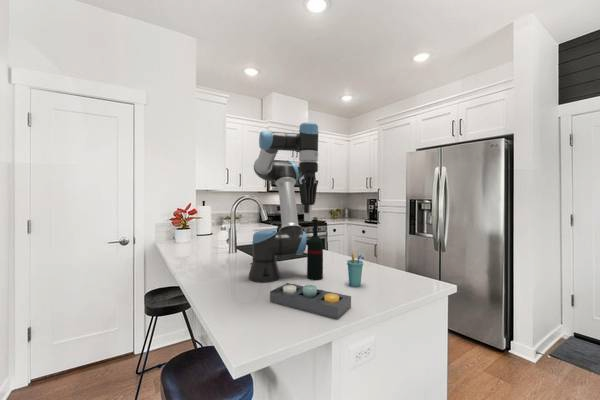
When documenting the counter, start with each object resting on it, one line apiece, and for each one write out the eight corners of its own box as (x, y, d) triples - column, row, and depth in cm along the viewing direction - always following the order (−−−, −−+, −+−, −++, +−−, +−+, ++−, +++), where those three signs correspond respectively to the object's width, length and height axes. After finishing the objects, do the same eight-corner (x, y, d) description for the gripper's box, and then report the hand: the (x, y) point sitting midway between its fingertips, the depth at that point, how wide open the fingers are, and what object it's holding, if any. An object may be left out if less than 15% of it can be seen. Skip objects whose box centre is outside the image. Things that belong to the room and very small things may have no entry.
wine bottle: (316, 273, 145) (317, 216, 144) (325, 279, 135) (326, 217, 135) (302, 275, 142) (303, 216, 141) (310, 281, 132) (311, 218, 132)
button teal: (300, 297, 103) (300, 287, 103) (307, 293, 108) (307, 284, 108) (312, 300, 101) (312, 290, 101) (319, 295, 105) (319, 286, 105)
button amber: (321, 306, 99) (321, 296, 99) (328, 301, 103) (328, 292, 103) (335, 309, 96) (335, 299, 96) (341, 304, 100) (341, 295, 100)
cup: (370, 290, 120) (371, 255, 120) (354, 291, 119) (354, 256, 118) (356, 280, 134) (357, 249, 134) (341, 281, 132) (341, 250, 132)
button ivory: (280, 296, 108) (280, 287, 108) (287, 292, 113) (287, 284, 112) (291, 299, 105) (291, 290, 105) (298, 295, 110) (298, 286, 110)
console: (269, 301, 106) (270, 291, 106) (287, 292, 117) (287, 283, 117) (337, 319, 92) (337, 307, 92) (350, 307, 102) (351, 296, 102)
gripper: (308, 160, 104) (308, 223, 105) (324, 163, 115) (323, 220, 116) (291, 161, 108) (291, 221, 109) (308, 164, 119) (307, 219, 120)
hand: (308, 221), depth 112 cm, fingers closed
